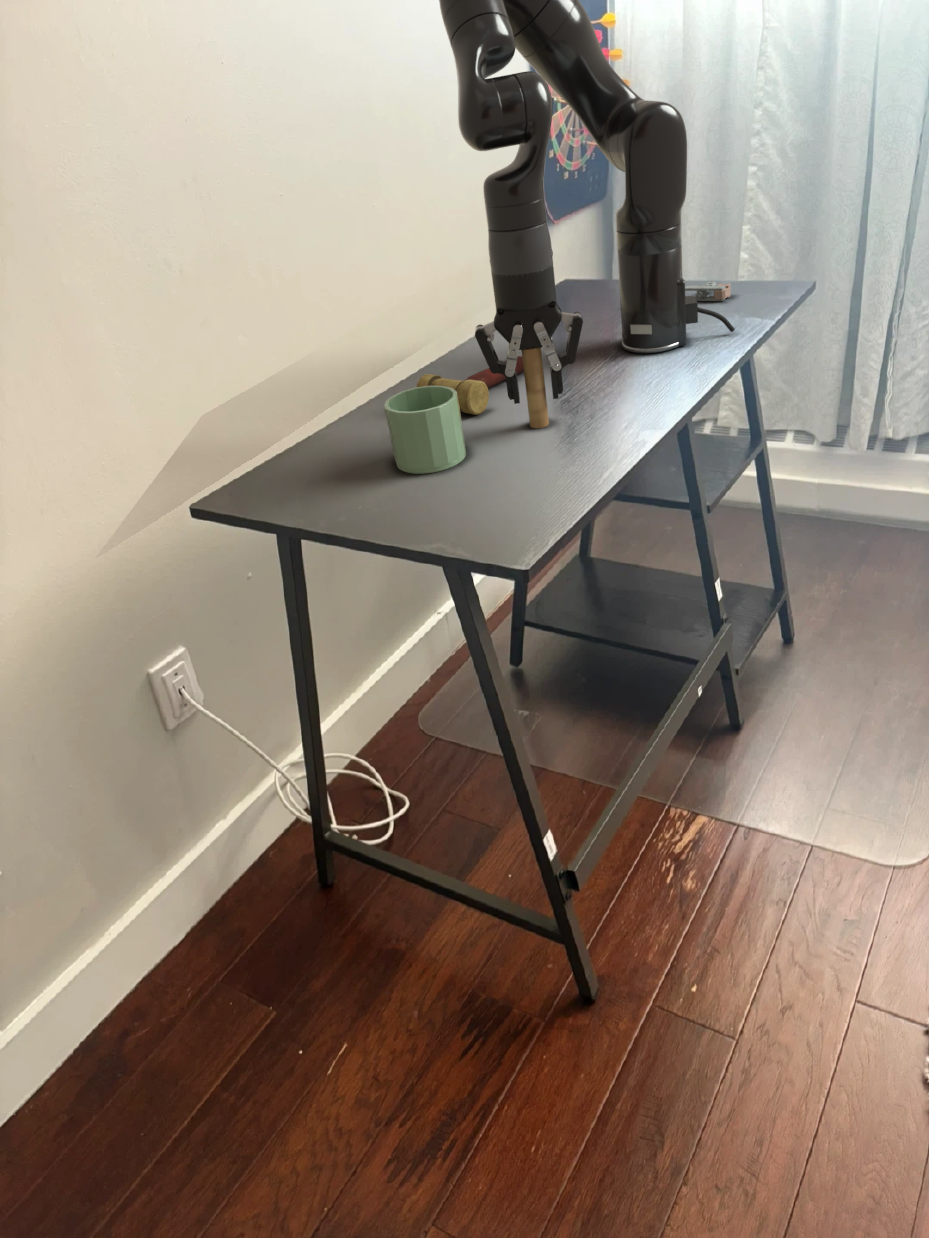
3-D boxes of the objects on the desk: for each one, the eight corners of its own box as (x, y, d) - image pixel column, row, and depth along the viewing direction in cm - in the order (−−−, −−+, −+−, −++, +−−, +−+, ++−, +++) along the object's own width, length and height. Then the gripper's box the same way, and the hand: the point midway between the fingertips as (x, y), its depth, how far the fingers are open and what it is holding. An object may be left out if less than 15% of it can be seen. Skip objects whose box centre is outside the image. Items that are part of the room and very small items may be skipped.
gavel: (504, 341, 148) (557, 346, 142) (506, 370, 151) (558, 376, 145) (412, 379, 135) (466, 386, 129) (417, 410, 137) (470, 419, 132)
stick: (548, 420, 128) (540, 342, 122) (549, 427, 125) (540, 348, 120) (530, 422, 128) (521, 344, 122) (530, 429, 126) (521, 351, 120)
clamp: (736, 278, 163) (716, 295, 156) (736, 291, 164) (716, 309, 157) (652, 278, 170) (630, 295, 164) (652, 291, 172) (630, 308, 165)
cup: (467, 440, 126) (458, 381, 121) (464, 469, 118) (454, 407, 114) (400, 448, 127) (388, 390, 123) (392, 477, 119) (380, 416, 115)
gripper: (461, 280, 113) (481, 416, 123) (582, 263, 112) (593, 402, 121) (464, 265, 120) (483, 396, 129) (579, 248, 118) (589, 382, 127)
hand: (536, 398), depth 125 cm, fingers open, 4 cm apart
